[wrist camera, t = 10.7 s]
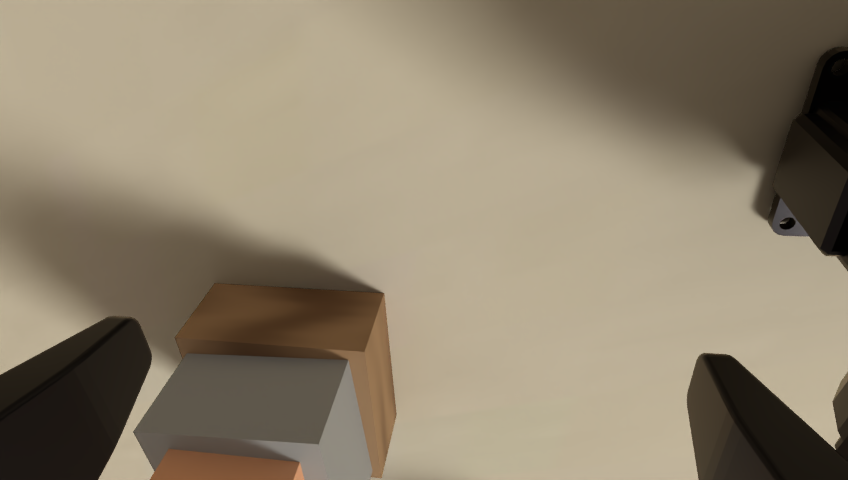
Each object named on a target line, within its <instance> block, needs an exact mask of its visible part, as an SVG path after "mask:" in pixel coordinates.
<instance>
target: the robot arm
mask: <svg viewBox="0 0 848 480" xmlns="http://www.w3.org/2000/svg"><path fill="white" fill-rule="evenodd" d="M841 59H845V64H844V65H843V67H842V68H841V69H839V70H838V71H834V72H832V66H833V65H834V63H835V62H837V61H838V60H841ZM773 188H774V190H775V191H776V195H775V198H774V201H773V204H772V208H771V211H770V214H769V217H768V223H769V225H770V226H771V228H772V229H773V231H774V232H775V233H777V234H778V235H783V236H809V237H810V238H811V239H812V241H813V242H814V243H815V245H816V246H817V247H818V249H819V250H820V251H821V252H822V253H823V254H824V255H825V256H836V257H837V258H838V259H839V260H840V262H841V263H842V264H843V266H844V267H845V268H846V269H847V271H848V47H837V48H833V49H831V50H829V51H827V52H826V53H825V54H824V55H823V56H822V57H821V58H820V60H819V62H818V64H817V67H816V70H815V73H814V76H813V79H812V82H811V85H810V89H809V92H808V95H807V98H806V101H805V104H804V107H803V110H802V113H801V114H800V115H799V116H797V117H796V118H795V119H794V120H793V121H792V124H791V128H790V131H789V134H788V137H787V140H786V144H785V147H784V150H783V153H782V156H781V160H780V163H779V166H778V169H777V172H776V176H775V179H774V182H773ZM788 217H791V219H790V221H788V222H787V223H784V224H780V222H781V221H782V220H783V219H785V218H788ZM151 360H152V355H151V350H150V348H149V346H148V343H147V341H146V338H145V336H144V334H143V331H142V329H141V326H140V324H139V322H138V321H137V320H136V319H135V318H132V317H122V316H111V317H107V318H105V319H103V320H102V321H100V322H98V323H96V324H94V325H92V326H90V327H89V328H87V329H85V330H83V331H81V332H79V333H77V334H76V335H74V336H72V337H70V338H68V339H66V340H64V341H63V342H61V343H59V344H57V345H55V346H53V347H51V348H49V349H48V350H46V351H44V352H42V353H40V354H38V355H36V356H35V357H33V358H31V359H29V360H27V361H25V362H23V363H22V364H20V365H18V366H16V367H14V368H12V369H10V370H8V371H7V372H5V373H3V374H1V375H0V480H98V479H99V477H100V475H101V473H102V472H103V470H104V468H105V466H106V464H107V462H108V461H109V459H110V457H111V455H112V453H113V451H114V449H115V447H116V445H117V443H118V440H119V438H120V436H121V434H122V432H123V429H124V427H125V425H126V422H127V420H128V418H129V415H130V413H131V411H132V408H133V406H134V404H135V401H136V399H137V397H138V394H139V392H140V390H141V387H142V385H143V383H144V380H145V378H146V375H147V373H148V371H149V368H150V365H151ZM833 407H834V412H835V418H836V423H837V429H838V432H839V434H840V436H841V437H840V438H839V439H838V441H837V442H836V444H835V448H836V450H835V449H834V448H833V447H832V446H831V445H829V444H828V443H827V442H826V441H825V440H824V439H823V438H822V437H821V436H820V435H818V434H817V433H816V432H815V431H814V430H813V429H812V428H811V427H810V426H809V425H807V424H806V423H805V422H804V421H803V420H802V419H801V418H800V417H799V416H798V415H796V414H795V413H794V412H793V411H792V410H791V409H790V408H789V407H788V406H787V405H785V404H784V403H783V402H782V401H781V400H780V399H779V398H778V397H777V396H776V395H774V394H773V393H772V392H771V391H770V390H769V389H768V388H767V387H766V386H765V385H764V384H762V383H761V382H760V381H759V380H758V379H757V378H756V377H755V376H754V375H753V374H751V373H750V372H749V371H748V370H747V369H746V368H745V367H744V366H743V365H742V364H740V363H739V362H738V361H737V360H736V359H735V358H734V357H732V356H730V355H727V354H713V353H703V354H701V355H700V356H699V357H698V359H697V361H696V364H695V368H694V371H693V375H692V378H691V382H690V385H689V389H688V394H687V408H688V414H689V421H690V427H691V434H692V440H693V446H694V453H695V459H696V466H697V472H698V478H699V480H848V372H847V374H846V375H845V377H844V378H843V379H842V381H841V383H840V385H839V387H838V390H837V392H836V395H835V397H834V400H833Z"/></svg>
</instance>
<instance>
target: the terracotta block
mask: <svg viewBox="0 0 848 480" xmlns="http://www.w3.org/2000/svg"><path fill="white" fill-rule="evenodd" d="M150 480H304V476H303V472H302V468H301V464H300V462H293V461H284V460H274V459H264V458H254V457H245V456H235V455H225V454H215V453H206V452H196V451H186V450H176V449H168V450H167V452H166V454H165V455H164V457H163V459H162V460H161V462H160V464H159V465H158V467H157V469H156V470H155V472H154V474H153V475H152V477H151V479H150Z"/></svg>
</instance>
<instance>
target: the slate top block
mask: <svg viewBox="0 0 848 480" xmlns="http://www.w3.org/2000/svg"><path fill="white" fill-rule="evenodd" d="M133 433H134V434H135V436H136V438H137V440H138V442H139V444H140V445H141V447H142V449H143V451H144V453H145V455H146V457H147V458H148V460H149V462H150V464H151V466H152V468H153V469H154V471H155V470H156V469H157V467H158V465H159V464H160V462H161V460H162V459H163V457H164V455H165V454H166V452H167V450H168V449H176V450H186V451H196V452H206V453H215V454H225V455H235V456H245V457H254V458H264V459H274V460H284V461H293V462H300V464H301V468H302V472H303V476H304V480H370V478H371V474H372V466H371V462H370V457H369V452H368V448H367V443H366V439H365V434H364V429H363V425H362V420H361V415H360V411H359V406H358V402H357V397H356V392H355V388H354V383H353V379H352V374H351V369H350V365H349V360H335V359H311V358H287V357H262V356H238V355H214V354H190V353H187V354H186V355H185V357H184V358H183V360H182V361H181V363H180V364H179V365H178V367H177V368H176V370H175V371H174V373H173V374H172V376H171V377H170V379H169V380H168V382H167V383H166V384H165V386H164V387H163V389H162V390H161V392H160V393H159V395H158V396H157V398H156V399H155V401H154V402H153V403H152V405H151V406H150V408H149V409H148V411H147V412H146V414H145V415H144V417H143V418H142V420H141V421H140V423H139V424H138V425H137V427H136V428H135V430H134V431H133Z"/></svg>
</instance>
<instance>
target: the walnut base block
mask: <svg viewBox="0 0 848 480" xmlns="http://www.w3.org/2000/svg"><path fill="white" fill-rule="evenodd" d="M175 339H176V342H177V345H178V348H179V350H180V353H181V356H182V358H184V357H185V355H186V354H187V353H190V354H214V355H238V356H262V357H287V358H311V359H335V360H349V365H350V369H351V374H352V379H353V383H354V388H355V392H356V397H357V402H358V406H359V411H360V415H361V420H362V425H363V429H364V434H365V439H366V443H367V448H368V452H369V457H370V462H371V466H372V474H371V477H375V478H382V474H383V470H384V465H385V461H386V457H387V453H388V448H389V444H390V440H391V436H392V431H393V427H394V423H395V419H396V405H395V396H394V386H393V376H392V366H391V357H390V347H389V337H388V327H387V317H386V308H385V298H384V293H372V292H354V291H337V290H320V289H303V288H286V287H268V286H251V285H234V284H217V283H215V284H214V285H213V287H212V288H211V289H210V291H209V292H208V293H207V295H206V296H205V297H204V299H203V300H202V301H201V303H200V304H199V306H198V307H197V308H196V310H195V311H194V312H193V314H192V315H191V316H190V318H189V319H188V320H187V322H186V323H185V325H184V326H183V327H182V329H181V330H180V331H179V333H178V334H177V335H176V337H175Z"/></svg>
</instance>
